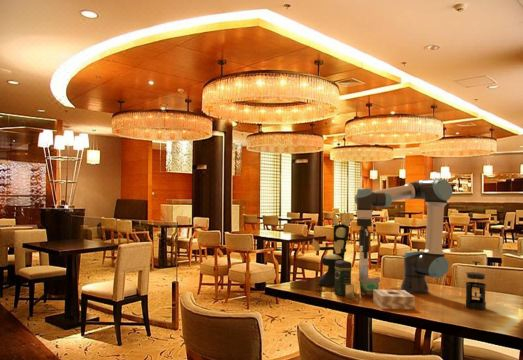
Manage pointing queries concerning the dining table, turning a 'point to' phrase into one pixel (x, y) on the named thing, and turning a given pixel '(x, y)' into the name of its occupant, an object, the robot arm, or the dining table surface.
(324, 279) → the dark tall irregular piece
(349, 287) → the brass pin
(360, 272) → the steel pin
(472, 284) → the french press
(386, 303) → the tissue box
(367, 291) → the food container
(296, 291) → the dining table surface
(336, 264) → the coffee jar
